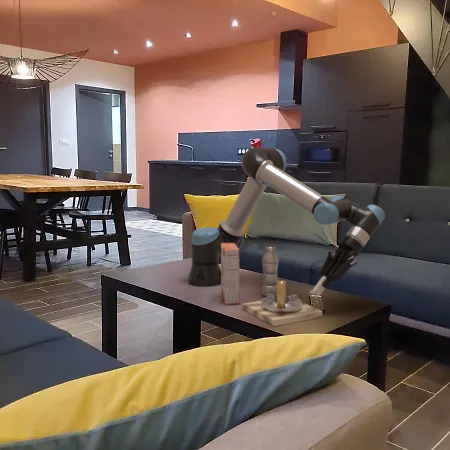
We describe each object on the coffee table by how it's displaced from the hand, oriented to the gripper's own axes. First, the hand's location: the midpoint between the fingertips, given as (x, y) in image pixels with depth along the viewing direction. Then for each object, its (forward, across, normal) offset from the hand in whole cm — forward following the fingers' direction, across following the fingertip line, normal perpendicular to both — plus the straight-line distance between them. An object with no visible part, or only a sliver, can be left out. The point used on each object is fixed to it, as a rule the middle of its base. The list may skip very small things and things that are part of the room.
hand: (315, 293), depth 164 cm
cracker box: (+18, +30, +7) cm, 35 cm away
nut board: (+12, +7, +1) cm, 14 cm away
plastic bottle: (+7, +26, -4) cm, 27 cm away
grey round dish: (+11, +6, +3) cm, 13 cm away
